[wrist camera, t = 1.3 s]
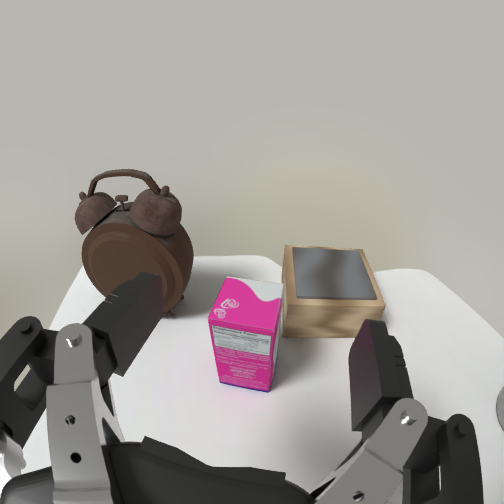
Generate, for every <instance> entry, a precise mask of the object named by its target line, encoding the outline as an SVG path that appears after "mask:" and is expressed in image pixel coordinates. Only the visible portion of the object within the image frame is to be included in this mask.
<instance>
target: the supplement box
mask: <svg viewBox="0 0 504 504" xmlns="http://www.w3.org/2000/svg"><path fill="white" fill-rule="evenodd" d="M283 294H284V284H281V283H272V282H263V281H256V280H249V279H243V278H236V277H229V276H227V277H226V279H225V281H224V283H223V285H222V288H221V290H220V292H219V294H218V297H217V299H216V301H215V303H214V306H213V308H212V310H211V312H210V315H209V317H208V323H209V328H210V334H211V339H212V345H213V350H214V356H215V361H216V366H217V371H218V376H219V381H220V383H224V384H228V385H233V386H237V387H242V388H247V389H252V390H258V391H263V392H269V390H270V387H271V383H272V379H273V374H274V369H275V364H276V358H277V349H278V340H279V331H280V322H281V313H282V304H283Z"/></svg>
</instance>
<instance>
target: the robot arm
mask: <svg viewBox="0 0 504 504" xmlns="http://www.w3.org/2000/svg"><path fill="white" fill-rule="evenodd" d="M163 310H164V301H163V289H162V278H161V276H160V275H158V274H154V273H150V272H146V271H141V272H140V273H139V274H138V275H137V276H136V277H135V278H134V279H133V281H132V280H128V281H126V282H124V283H122V284H120V285H118V286H117V287H116V288H115V289H114V290H113V291H112V292H111V295H108V297H107V298H106V299H105V301H103V302H102V303H101V304H100V305H99V306H98V307H97V308H96V309H95V310H94V311H93V313H92V314H91V315H90V316H89V317H88V318H87V319H86V320H85V321H84V322H83V323H82V324H79V323H74V324H70V325H67V326H65V327H63V328H62V329H61V330H60V331H53V330H47V329H43V327H42V325H41V322H40V321H39V320H38V319H37V318H36V317H32V316H28V317H24V318H22V319H20V320H18V321H17V322H16V323H15V324H14V325H13V326H12V327H11V328H10V329H9V331H8V332H7V333H6V334H5V335H4V336H3V337H2V338H1V340H0V504H385V503H386V501H387V500H388V499H389V497H390V496H391V495H392V493H393V492H394V490H395V489H396V487H397V486H398V484H399V483H400V481H401V480H402V478H403V500H402V504H484V500H483V484H482V473H481V465H480V457H479V451H478V445H477V439H476V434H475V429H474V425H473V423H472V422H471V420H470V419H469V418H468V417H466V416H465V415H463V414H455V415H453V416H451V417H450V418H449V419H448V420H447V421H443V420H440V419H437V418H433V417H430V416H428V415H427V411H426V409H425V408H424V406H423V405H422V404H421V403H420V402H418V401H417V400H414V398H413V394H412V389H411V385H410V380H409V376H408V372H407V368H406V367H405V366H406V364H405V360H404V359H403V357H404V356H403V353H402V349H401V346H400V344H399V343H398V341H397V340H396V339H395V337H394V336H390V335H388V331H387V327H386V324H385V322H384V321H378V320H372V319H365V320H364V322H363V324H362V326H361V328H360V330H359V332H358V334H357V336H356V338H355V340H354V342H353V344H352V346H351V349H350V352H349V375H350V392H351V418H352V431H362V438H361V439H360V440H359V441H358V443H357V444H356V445H355V446H354V447H353V449H352V450H351V451H350V452H349V453H348V454H347V455H346V457H345V458H344V459H343V460H342V461H341V462H340V463H339V464H338V465H337V466H336V467H335V469H334V470H333V471H332V472H331V473H330V474H329V475H328V476H326V477H325V478H324V479H323V480H322V481H321V482H320V483H318V484H317V485H316V486H315V487H314V488H313V489H312V490H311V491H310V492H306V491H305V490H304V489H302V488H301V487H299V486H298V485H296V484H294V483H292V482H290V481H287V480H285V476H286V473H285V472H277V471H270V470H264V469H258V468H253V467H212V466H209V465H206V464H205V463H203V462H201V461H199V460H197V459H195V458H194V457H192V456H190V455H188V454H187V453H185V452H183V451H182V450H180V449H178V448H176V447H173V446H170V445H167V444H165V443H162V442H159V441H157V440H154V439H152V438H149V437H147V436H145V437H144V439H143V441H142V443H141V442H125V439H124V436H123V433H122V431H121V428H120V426H119V423H118V419H117V414H116V410H115V405H114V399H113V394H112V388H111V382H110V379H109V378H110V377H111V375H112V374H113V373H115V374H118V375H120V376H122V377H123V376H124V374H125V373H126V371H127V370H128V368H129V367H130V365H131V363H132V362H133V360H134V359H135V357H136V356H137V354H138V353H139V351H140V349H141V348H142V346H143V345H144V343H145V342H146V340H147V339H148V337H149V336H150V334H151V333H152V331H153V330H154V328H155V327H156V325H157V324H158V322H159V321H160V319H161V317H162V314H163ZM27 364H28V365H29V367H30V368H31V370H30V371H29V372H28V374H27V375H26V377H25V378H24V379H23V381H22V382H21V384H20V385H19V386H18V388H17V389H16V391H14V382H15V381H16V379H17V378H18V376H19V375H20V374H21V372H22V371H23V370H24V368H25V367H26V365H27ZM45 409H47V429H48V441H49V450H50V458H51V465H52V466H50V467H47V468H43V469H40V470H37V471H33V472H30V473H26V474H22V475H21V469H24V468H25V467H26V461H25V459H24V458H23V451H22V449H23V447H24V445H25V443H26V442H27V440H28V438H29V436H30V434H31V433H32V431H33V429H34V427H35V426H36V424H37V422H38V421H39V419H40V417H41V415H42V414H43V412H44V410H45ZM497 415H498V419H499V422H500V425H501V426H502V428H503V430H504V388H503V389H502V390H501V392H500V394H499V396H498V400H497ZM439 466H440V471H441V490H440V485H439ZM402 468H403V472H402V471H401V469H402Z"/></svg>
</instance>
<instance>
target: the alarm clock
mask: <svg viewBox="0 0 504 504" xmlns="http://www.w3.org/2000/svg"><path fill="white" fill-rule="evenodd" d="M114 176H131V177H135V178H139V179H142V180H144V181H145V182H146V184H147V185H148V186H149V187H150V189H147V190H145V191H143V192H142V193H140V194H139V195H138V197H137V198H136V200H135V201H134V202H129V203H123V202H125V201H128V196H126V195H118V196H116V197H115V200H116V201H119V202H120V203H121V205H119V206H117V207H116V208H114V207H115V206H116V204H117V203H116V202H115V200H114V199H113V198H111V197H110V196H109V195H108V194H106V193H103V192H98V193H94V190H95V187H96V185H97V182H98V181H99V180H101V179H103V178H107V177H114ZM79 196H80V199H81V200H82V201H81V202H80V203H79V206H78V208H77V210H76V213H75V221H76V225H77V227H78V229H79V231H80V232H81V234H82V235H83V234H84V233H86V232H87V231H88V230H89V229H90V228H92V227H93V226H94V225H95V226H94V227H93V228H92V230H91V231H90V233H89V234H88V235H87V237H86V238H85V240H84V243H83V247H82V261H83V265H84V268H85V271H86V273H87V275H88V277H89V279H90V280H91V282H92V283H93V285H94V286H95V287H96V288H97V290H98V291H99V292H100V293H101V294H102V295H104V296H105V297H106V298H107V297H108V295H111V292H112V291H113V290H114V289H115V288H116V287H117V286H118V285H120V284H122V283H124V282H126V281H128V280H132V281H133V279H134V278H135V277H136V276H137V275H138V274H139V273H140V272H141V271H146V272H150V273H154V274H158V275H160V276H161V278H162V289H163V301H164V310H163V312H166V313H167V314H168V315H169V317H173V314H172V313H171V312H170V311H169V310H170V309H171V308H173V307H174V306H175V305H176V304H177V303H178V302H179V300H180V299H183V298H184V296H183V295H182V294H183V292H184V290H185V288H186V286H187V284H188V281H189V278H190V274H191V270H192V265H193V247H192V244H191V241H190V238H189V236H188V234H187V232H186V231H185V229H184V228H183V226H182V225H181V224H180V221H181V215H182V214H181V213H182V208H181V205H180V203H179V201H178V199H177V198H176V197H175V196H174V195H173V194H171V193H170V192H169V187H168V186H164V187H163V188H162V189H160V188H159V187H158V185H157V184H156V182H155V181H154V180H153V179H152V177H151V176H150V175H149V174H147V173H146V172H142V171H138V170H134V169H121V170H112V171H106V172H104V173H102V174H99V175H97V176H96V177H95V178H94V179H93V180H92V181H91V184H90V187H89V190H88V195H86V194H85V193H84V192H81V193H80V194H79ZM113 208H114V209H113Z"/></svg>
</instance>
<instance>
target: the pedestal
mask: <svg viewBox="0 0 504 504" xmlns="http://www.w3.org/2000/svg"><path fill="white" fill-rule="evenodd" d="M282 284H284V294H283V304H282V315H283V337H302V338H354V337H356V336H357V334H358V332H359V330H360V328H361V326H362V324H363V322H364V320H365V319H372V320H378V321H379V319H380V317H381V315H382V313H383V310H384V308H385V303H384V300H383V298H382V295H381V293H380V290H379V288H378V285H377V283H376V280H375V278H374V275H373V273H372V270H371V268H370V266H369V264H368V261H367V259H366V257H365V254H364V252H363V250H361V249H346V248H329V247H311V246H293V245H285V250H284V259H283V268H282Z"/></svg>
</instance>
